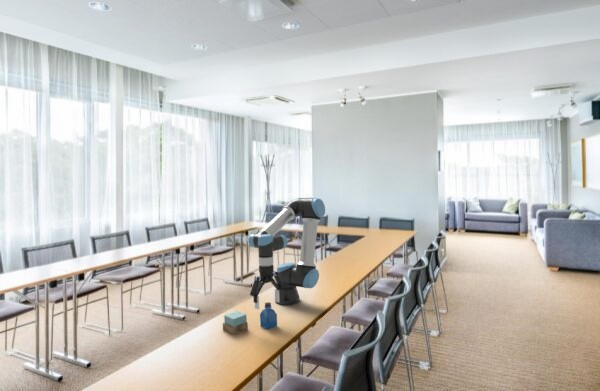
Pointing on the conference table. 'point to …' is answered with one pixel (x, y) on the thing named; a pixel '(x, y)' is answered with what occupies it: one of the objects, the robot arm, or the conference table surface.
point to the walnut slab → (235, 328)
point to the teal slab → (235, 318)
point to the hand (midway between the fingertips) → (267, 305)
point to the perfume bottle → (268, 317)
